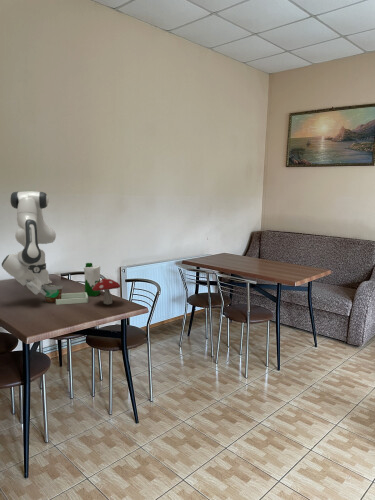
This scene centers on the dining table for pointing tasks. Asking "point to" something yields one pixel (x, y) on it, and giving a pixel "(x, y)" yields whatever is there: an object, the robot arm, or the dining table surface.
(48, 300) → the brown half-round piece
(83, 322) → the dining table surface
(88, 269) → the milk carton
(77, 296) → the pale green u-shaped frame
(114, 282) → the decorative mushroom
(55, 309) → the dining table surface
